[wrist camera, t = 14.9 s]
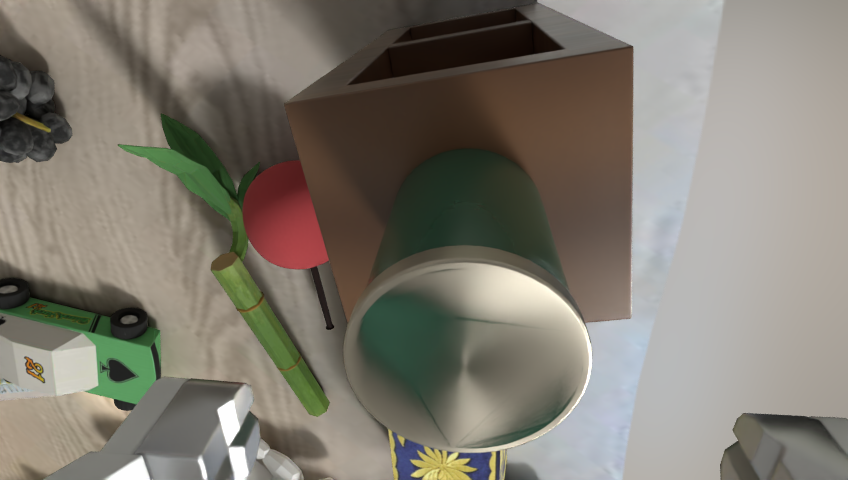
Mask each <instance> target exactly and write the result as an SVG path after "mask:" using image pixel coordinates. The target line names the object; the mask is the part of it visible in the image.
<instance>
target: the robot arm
mask: <svg viewBox="0 0 848 480" xmlns="http://www.w3.org/2000/svg"><path fill="white" fill-rule="evenodd" d="M253 402H254V397H253V393H252V388H251V385H248V384H246V383H239V382H227V381H216V380H204V379H193V378H191V379H185V378H174V377H162V378H160V379H158V380H156V381H155V382H154V383H153V384H152V386H151V387H150V388H149V389H148V391H147V392H146V393H145V394H144V396H143V397H142V398H141V400H140V401H139V402H138V403H137V405H136V406H135V407H134V409H133V410H132V411H131V412H130V414H129V415H128V416H127V418H126V419H125V420H124V421H123V423H122V424H121V425H120V426H119V428H118V429H117V430H116V432H115V433H114V434H113V435H112V437H111V438H110V439H109V441H108V442H107V443H106V444H105V446H104V447H103V448H102V449H101V451H100V452H92V451H91V452H89V453H87V454H85V455H84V456H82V457H80V458H79V459H77V460H75V461H73V462H72V463H70V464H68V465H67V466H65V467H63V468H61V469H60V470H58V471H56V472H55V473H53V474H51V475H49V476H48V477H46V478H44V479H43V480H244V479H246V478H247V477H248V476H249V475H250V474H251V471H252V469H253V466H254V464H255V462H256V459H257V454H258V449H259V445H260V426H259V421H258V418H257V417H256V416H255V415H253V414H252V413H251V412H250V411H249V410H250V408H251V406H252V404H253ZM733 432H734V434H735V436H736V437H737V439H738V441H737V442H736V443H734V444H733V445H731V446H730V447H728V448H727V449H725V451H724V454H723V457H722V461H721V464H720V473H721V480H848V419H846V418H835V417H813V416H811V417H806V416H791V415H772V414H753V413H743V414H742V415H741V416H740V417H739V418H737V420H736V423H735V425H734V428H733Z"/></svg>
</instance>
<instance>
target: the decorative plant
mask: <svg viewBox="0 0 848 480" xmlns="http://www.w3.org/2000/svg"><path fill="white" fill-rule="evenodd" d="M161 120H162V126H163V130H164V133H165V136H166V139H167V142H168V145H169V146H170V148H171V149H168V148H157V147H142V146H132V145H121V144H118V146H119V147H121V148H122V149H124V150H125V151H127V152H129V153H132V154H134V155H137V156H140V157H145V158H147V159H149V160H150V161H152V162H153V163H155V164H156V165H158V166H159V167H161V168H163V169H165V170H167V171H169V172H171V173H174V174H176V175H177V176H178V177H179V179H180V180H181V181H182V183H183V184H184V185H185V186H186V188H187V189H189V190H190V191H192V192H194V193H195V194H197V195H198V196H200V197H202V199H204V200H205V201H206V202H207V203H208V204H209V205H210V206H211V207H212V208H213V209H214V210H215V211H217V212H218V213H220V214H221V215H222V216H224V217H225V218H227V219H228V220H229V221H231V225H232V230H233V241H232V246H231V249H230V252H229V253H226V254H222V255H220V256H219V257H218V258H217V259H215V260H214V261H213V262H212V264H211V271H212V273H213V274H214V275H215V277H216V278H217V280H218V281H219V283H220V284H221V286H222V287H223V289H224V290H225V292H226V293H227V294H228V296H229V297H230V299H231V300H232V302H233V303H234V305H235V306H236V309H237V311H239V312H240V314H241V315H242V316H243V318H244V319H245V321H246V322H247V324H248V325H249V327H250V328H251V330H252V331H253V333H254V334H255V335H256V337H257V338H258V340H259V341H260V343H261V344H262V346H263V347H264V349H265V350H266V352H267V353H268V354H269V356H270V357H271V359H272V360H273V362H274V363H275V365H276V366H277V368H278V369H279V371H280V372H281V374H282V375H283V376H284V378H285V379H286V381H287V382H288V384H289V385H290V387H291V388H292V390H293V391H294V393H295V394H296V395H297V397H298V398H299V400H300V401H301V403H302V404H303V406H304V407H305V409H306V410H307V412H308V413H309V414H310V415H313V416H316V417H318V416H320V415H321V414H323V413H325V412H326V411H327V409H328V406H329V403H330V402H329V400H328V399H327V397H326V396H325V394H324V393H323V391H322V389H321V388H320V386H319V385H318V383H317V381H316V380H315V378H314V377H313V375H312V373H311V372H310V370H309V369H308V367H307V365H306V364H305V362H304V361H303V359H302V357H301V354H300V352H299V351H297V349H296V348H295V346H294V345H293V343H292V341H291V340H290V338H289V337H288V335H287V333H286V332H285V330H284V329H283V327H282V325H281V324H280V322H279V321H278V319H277V317H276V316H275V314H274V313H273V311H272V309H271V308H270V306H269V305H268V303H267V301H266V300H265V298H264V294H263V292H261V291H260V290H259V289H258V287H257V285H256V284H255V282H254V281H253V279H252V277H251V276H250V274H249V273H248V271H247V270H246V268H245V266H244V265H243V263H242V262H243V260H244V258H245V254H246V251H247V247H248V239H249V238H248V236H247V234H246V231H245V227H244V223H243V202H244V197H245V194H246V192H247V189H248V187H249V186H250V184H251V183H252V181H253V180H254V179H255V177H256V174H257V172H258V169H259V164H260V162H258V163H257V164H256V165H255V166H254V167H253V168H252V169H251V170H250V171H248V172H247V173H246V174H245V175H244V177H243V178H242V180H241V182H240V185H239V187H238V193H236V190H235V187H234V184H233V181H232V179H231V178H230V176H229V174H228V172H227V171H226V169H225V167H224V166H223V164H222V163H221V161H220V160H219V159H218V157H217V156H216V155H215V153H214V152H213V151H212V149H211V148H210V147H209V146H208V145H207V144H206V142H205V141H204V140H203V139H202V138H201V137H200V136H199V135H198V134H197V133H196V132H195V131H193V130H192V129H190V128H188V127H187V126H185V125H183V124H182V123H180V122H178V121H176V120H174V119H172V118H170V117H168V116H166V115H164V114H162V113H161Z"/></svg>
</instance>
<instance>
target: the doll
mask: <svg viewBox="0 0 848 480" xmlns="http://www.w3.org/2000/svg"><path fill="white" fill-rule="evenodd" d="M244 480H304V477H303V474H302V470H301V469H299V467H298V466H297V465H296V464H295V463H294V462H293V461H292V460H291V459H290V458H289V457H288V456H286V455H284V454H282V453H280V452H278V451H276V450H274V449H270V447H269V445H268V444H267V443H266V442H265V441H264V440H263V439H261V438H260V445H259V449H258V454H257V459H256V462H255V464H254V466H253V469H252V471H251V474H250V475H249V476H248V477H247V478H246V479H244ZM318 480H334V479H332V478H330V477H329V478H324V479H318Z"/></svg>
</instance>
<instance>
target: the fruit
mask: <svg viewBox="0 0 848 480" xmlns="http://www.w3.org/2000/svg"><path fill="white" fill-rule="evenodd" d="M54 93H55V90H54V80H53V79H52V78H51V77H50V75H48V74H46V73H45V72H43V71H30V72H29V70H28V69H27V68H26V67H25V66H23V65H22V64H21V63H18V62H13V61H11V60H10V59H7V58H5V57H3V56H1V55H0V161H3V162H8V163H12V162H16V163H19V162H20V161H22V160H24V159H26V157H27V156H28V157H29V158H31V159H33V160H34V161H36V162H41V161H48V160H49V159H50V158H51V157H53V156H54V153H55V152H56V150H57V148H56V145H55V143H59V144H62V143H64V142H67V141H69V139H70V138H71V137H72V128H71V127H70V125H69V124H68V122H67V121H66V119H65V118H63V117H61V116H60V115H58V114H57V113H54V111H55V105H54V102H53V100H52V97H53V95H54ZM25 111H26V112H27V113H28V114H29V115H24V113H25Z"/></svg>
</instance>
